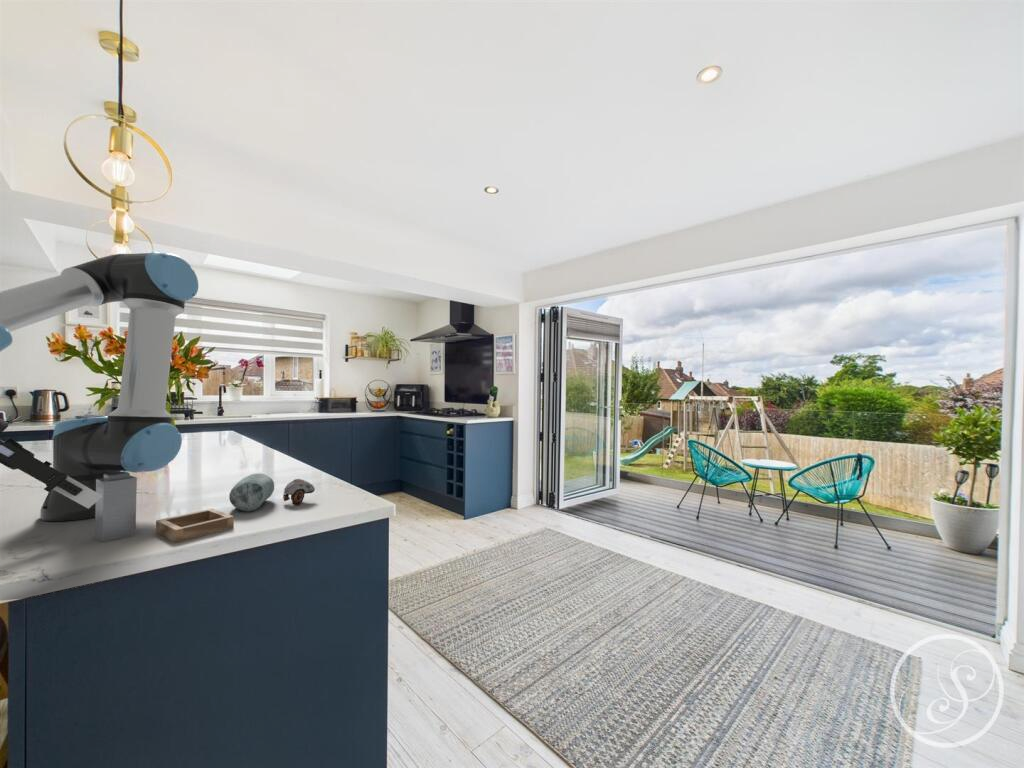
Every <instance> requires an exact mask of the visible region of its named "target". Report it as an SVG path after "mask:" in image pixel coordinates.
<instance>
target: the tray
mask: <svg viewBox="0 0 1024 768" xmlns="http://www.w3.org/2000/svg"><path fill="white" fill-rule="evenodd" d="M234 520H235V517H234V515H232V514H231V515H230V514H228V513H225V512H222V511H220V510H218V509H215V508H208V509H205V510H204V509H203V510H200V511H195V512H191V513H186V514H180V515H175V516H172V517H166V518H162V519H157V520H156V522H155V533H156V534H158V535H160V536H162V537H164V538H166V539H167V540H170V541H172V542H174V543H180V542H183V541H187V540H191V539H195V538H199V537H203V536H207V535H211V534H215V533H219V532H221V531H222V532H224V531H226V530H230V529H234V526H235V522H234Z"/></svg>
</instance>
